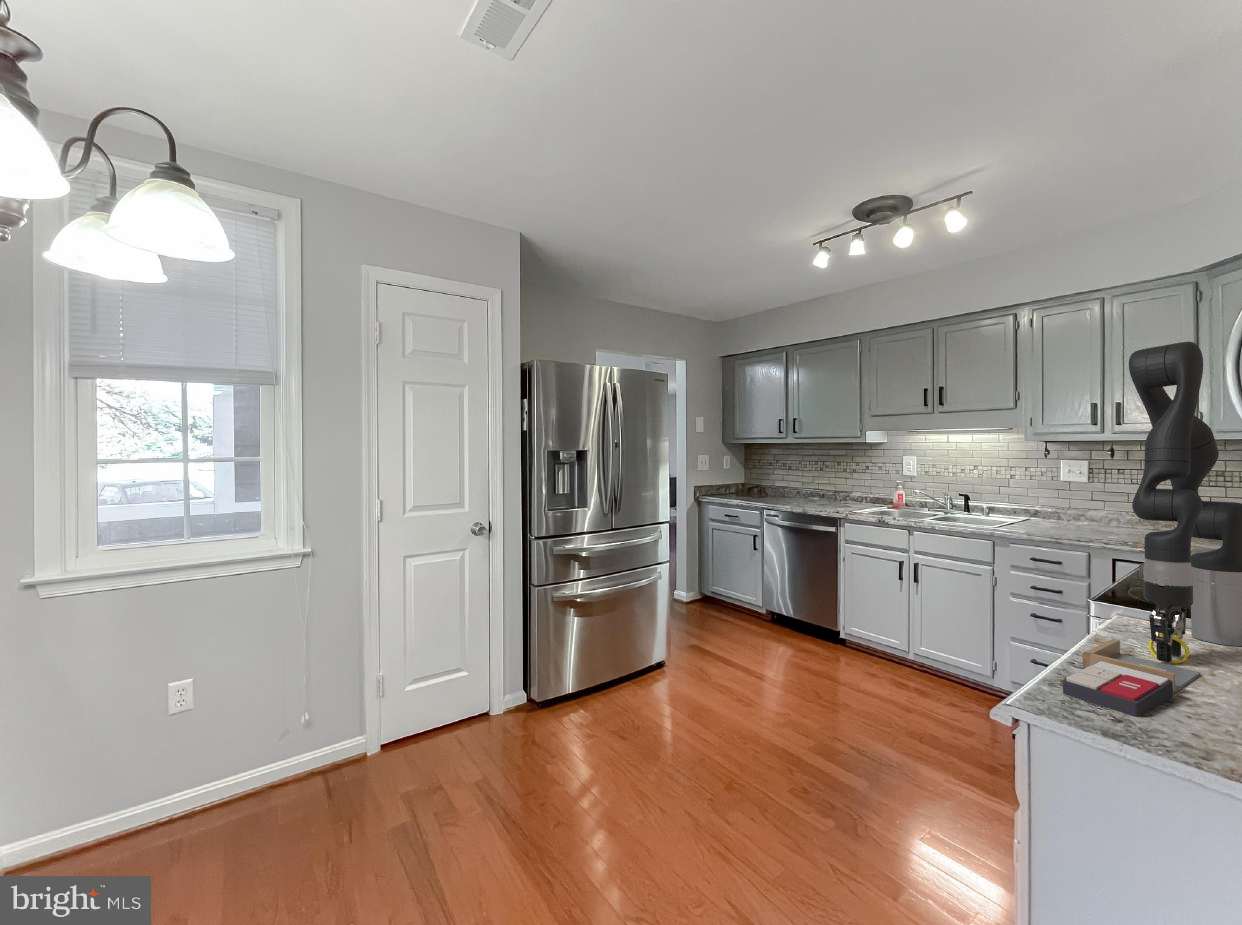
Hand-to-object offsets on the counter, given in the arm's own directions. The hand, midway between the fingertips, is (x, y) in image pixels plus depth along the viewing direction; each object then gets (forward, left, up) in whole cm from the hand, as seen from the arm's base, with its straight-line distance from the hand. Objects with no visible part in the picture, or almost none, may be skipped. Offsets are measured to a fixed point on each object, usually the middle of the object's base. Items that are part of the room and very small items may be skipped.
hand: (1168, 657), depth 116 cm
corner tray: (+13, -1, -1) cm, 13 cm away
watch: (0, 0, -1) cm, 1 cm away
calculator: (+30, +1, -1) cm, 31 cm away
